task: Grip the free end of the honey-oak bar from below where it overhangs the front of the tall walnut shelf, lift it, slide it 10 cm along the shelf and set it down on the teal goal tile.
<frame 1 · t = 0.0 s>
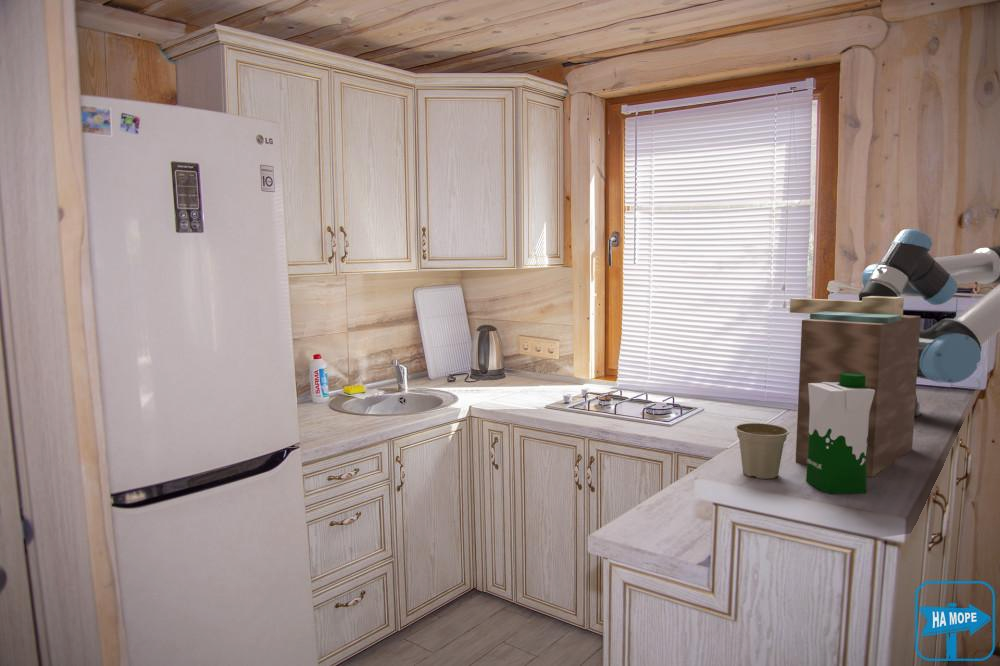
hand: (833, 365, 163), 15 cm above the counter, tool tilted 35°, fingers open, 13 cm apart
flower pot: (759, 475, 132), on the counter
walnut shelf: (855, 455, 144), on the counter
oak bar: (871, 316, 145), point 28 cm above the counter, touching walnut shelf
milk carton: (834, 488, 125), on the counter
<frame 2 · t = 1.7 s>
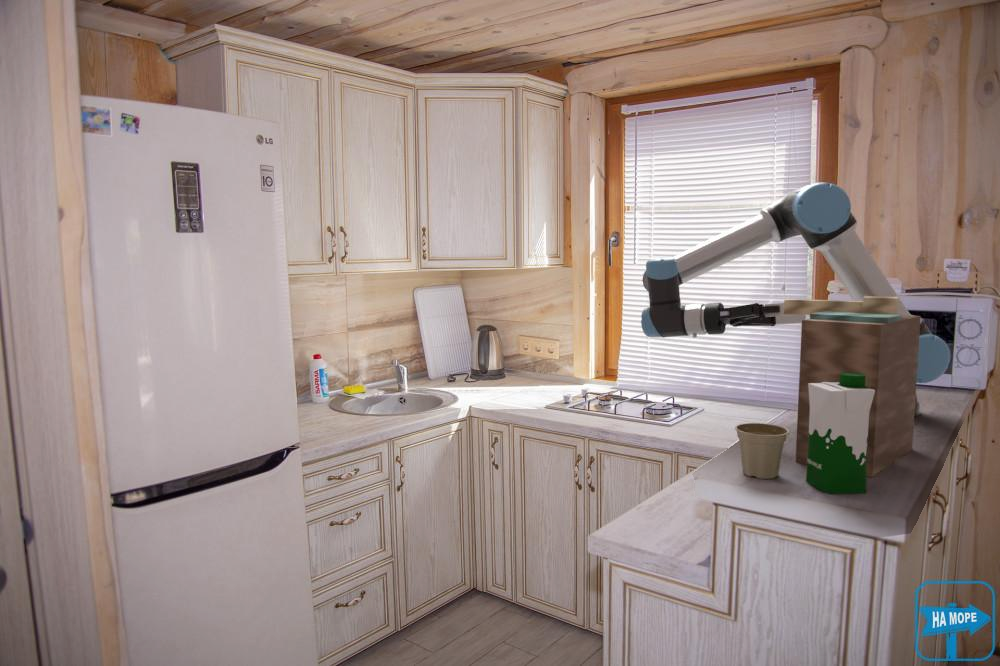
hand: (801, 312, 160), 27 cm above the counter, tool horizontal, fingers open, 13 cm apart
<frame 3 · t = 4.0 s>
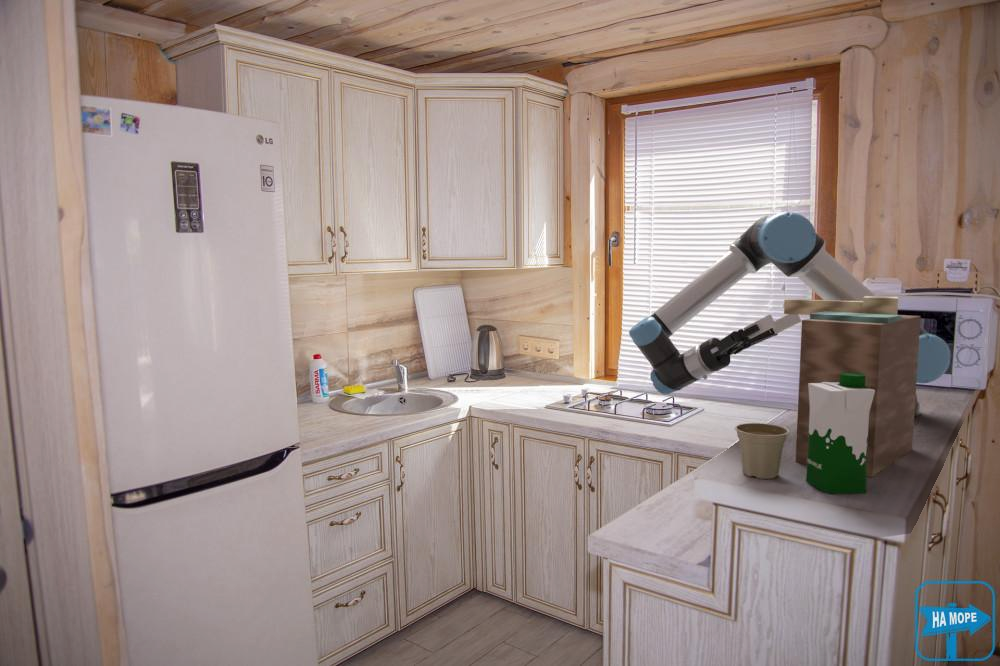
hand: (786, 317, 156), 27 cm above the counter, tool pointing upward, fingers open, 13 cm apart
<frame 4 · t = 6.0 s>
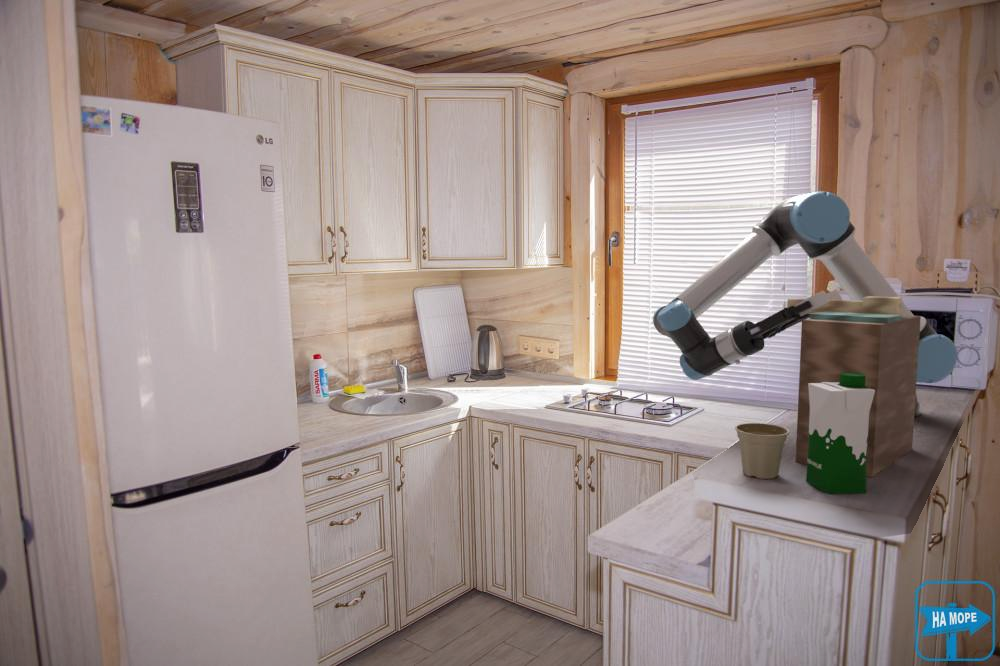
hand: (832, 295, 150), 32 cm above the counter, tool pointing upward, fingers open, 7 cm apart
oak bar: (870, 316, 145), point 28 cm above the counter, touching gripper, walnut shelf
everything else where it was.
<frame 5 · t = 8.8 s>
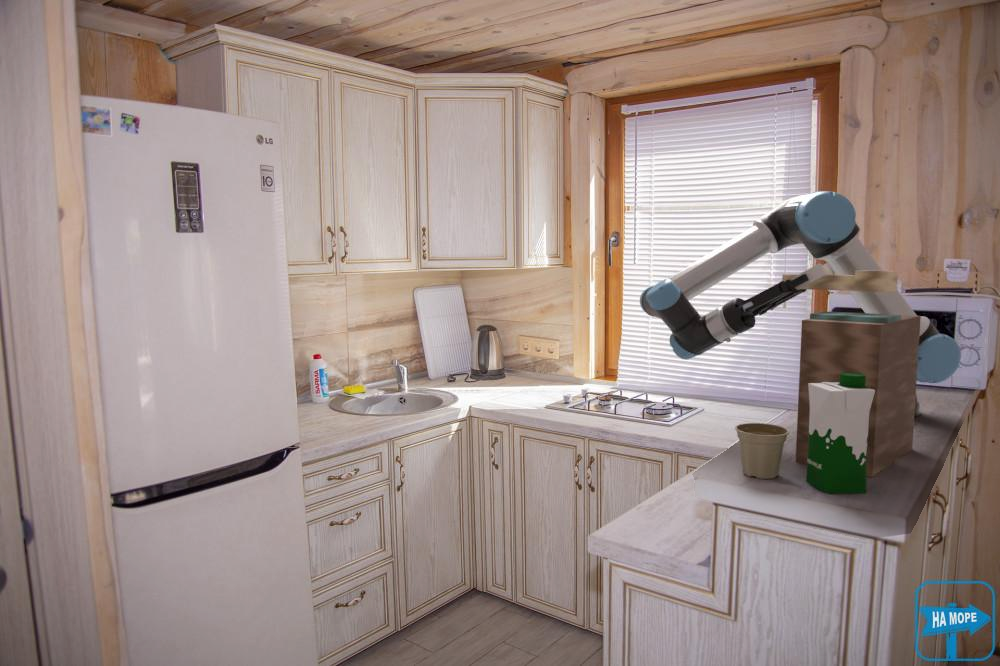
hand: (826, 269, 146), 38 cm above the counter, tool pointing upward, fingers closed on oak bar, 3 cm apart
oak bar: (864, 290, 141), point 33 cm above the counter, touching gripper
everything else where it was.
when the fingers open (33 cm above the counter, at t = 11.3 s): oak bar stays where it is, resting on walnut shelf.
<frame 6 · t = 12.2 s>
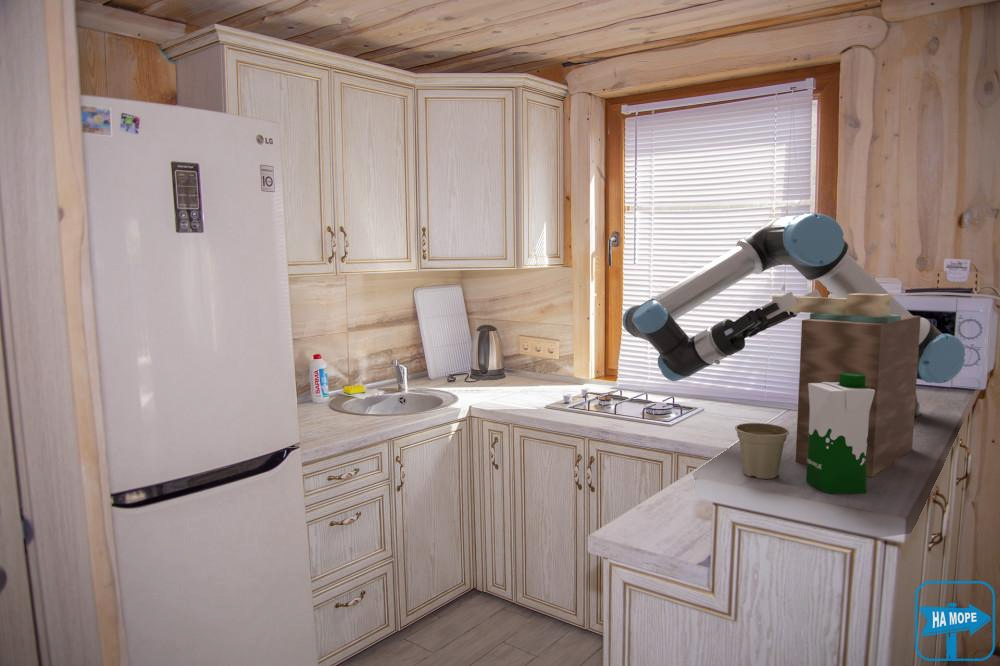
hand: (807, 296, 144), 32 cm above the counter, tool pointing upward, fingers open, 13 cm apart
oak bar: (856, 314, 137), point 29 cm above the counter, touching walnut shelf
everything else where it was.
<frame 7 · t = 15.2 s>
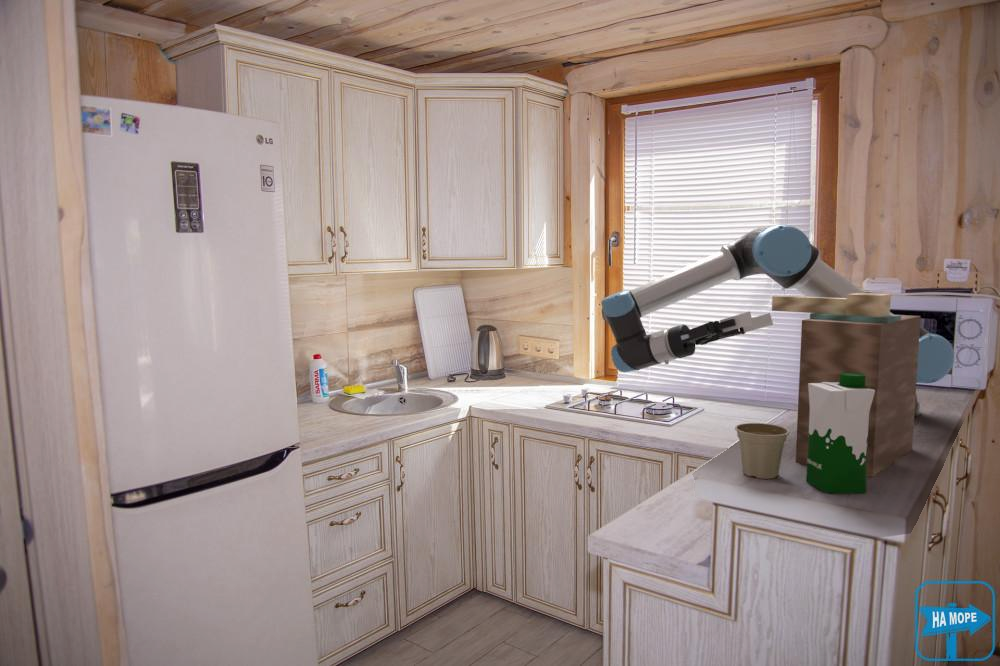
hand: (761, 318, 156), 27 cm above the counter, tool pointing upward, fingers open, 13 cm apart
nothing on the counter moved.
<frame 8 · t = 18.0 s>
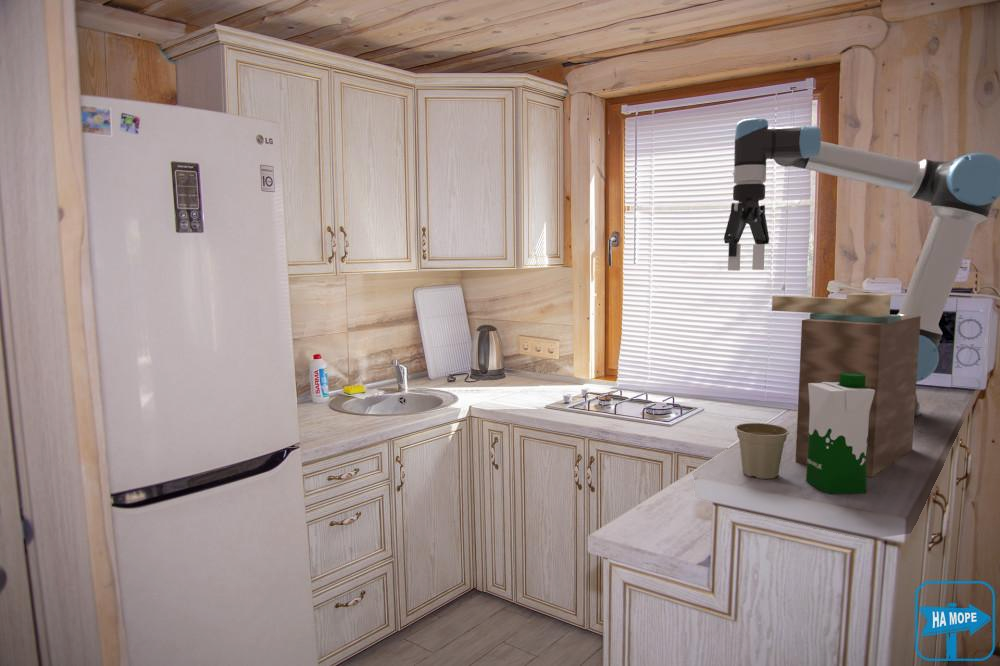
hand: (746, 270, 178), 37 cm above the counter, tool pointing down, fingers open, 13 cm apart
nothing on the counter moved.
at the end: oak bar 0.3 cm from the target spot on the walnut shelf, point 29.0 cm above the walnut shelf's base; the gripper is holding nothing; oak bar tilted 0° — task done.
